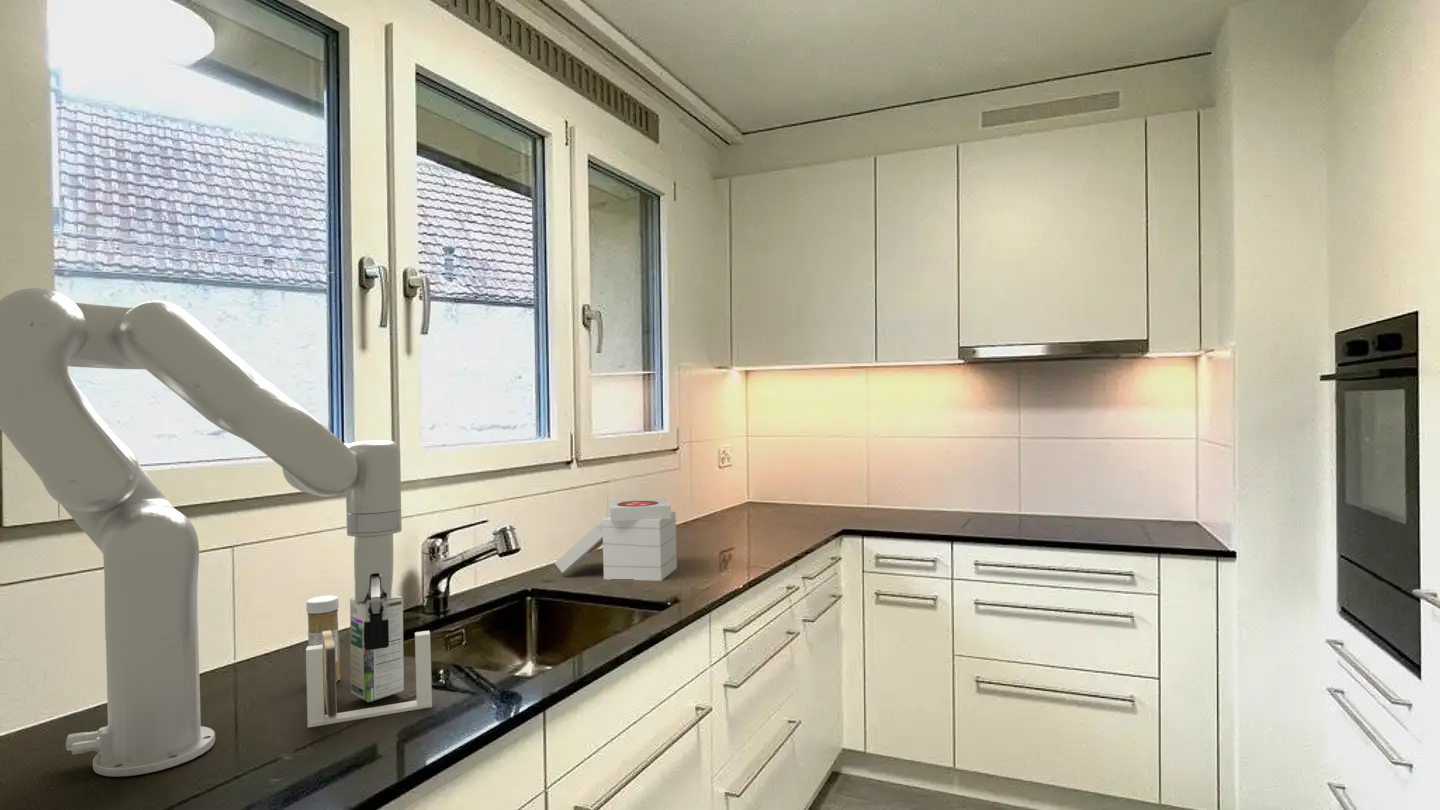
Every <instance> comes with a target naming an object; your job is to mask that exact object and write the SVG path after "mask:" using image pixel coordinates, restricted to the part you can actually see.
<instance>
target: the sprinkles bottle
mask: <svg viewBox="0 0 1440 810" xmlns="http://www.w3.org/2000/svg"><path fill="white" fill-rule="evenodd" d="M339 603H340V602H339V597H338V596H336V595H321V596H315V597H312V598H310V599H307V601H306V613H307V621H308V623H307V625H308V626H307V627H308V631H307V638H308V644H307V645H308V646H315V645H322V631H329V630H331V633H332V636H333V640H334V644H335V655H336V683H337V682H339V681H340V680H341V674H340V654H341V653H340V639H339V638H340V637H339V617H338V616H339V615H338V612H339ZM338 680H339V681H338Z"/></svg>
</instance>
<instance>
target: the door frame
mask: <svg viewBox="0 0 1440 810" xmlns="http://www.w3.org/2000/svg"><path fill="white" fill-rule="evenodd" d="M431 648H432V647H431V632H430V630H423V631H416V632H414V649H415V650H414V651H415V652H414V653H415V655H414V656H415V689H416V694H415V695H416V697H415V698H416V699H415V700H411V701H405V702H398V703H397V702H396V703H392V704H386V705H380V706H379V705H378V706H374V707H367V708H361V709H355V710H350V711H349V710H348V711H342V712H337V713H336V715H334V716H329V714H326V703H325V698H324V660H323V644H322V645H315V646H309V645H307V646H306V649H305V668H306V669H305V670H306V709H307V728H314V727H320V726H325V725H331V724H337V723H338V724H339V723H344V722H350V721H356V720H362V719H366V718H367V719H370V718H374V717H379V716H386V715H391V714H397V713H405V712H408V711H409V712H411V711H417V710H423V709H429V708H432V707H433V698H432V697H433V694H432V651H431Z"/></svg>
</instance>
